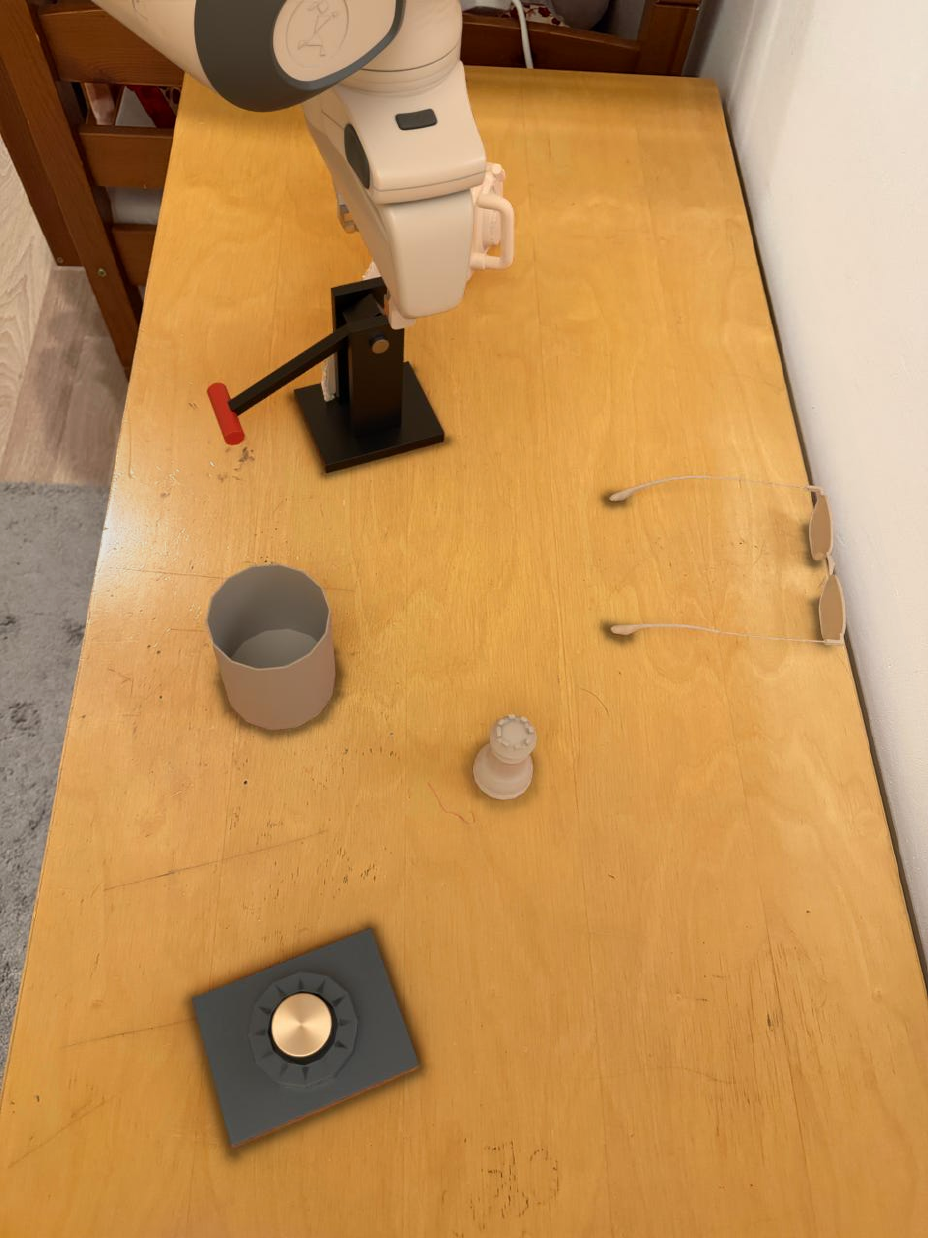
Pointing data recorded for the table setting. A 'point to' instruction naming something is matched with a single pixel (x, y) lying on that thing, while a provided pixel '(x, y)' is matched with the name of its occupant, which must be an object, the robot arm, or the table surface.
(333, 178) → the robot arm
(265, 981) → the button block
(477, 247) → the chainsaw
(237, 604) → the cup
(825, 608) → the eyeglasses
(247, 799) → the table surface
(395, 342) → the press bracket
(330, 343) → the press lever
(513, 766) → the rook chess piece
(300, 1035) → the gold dial knob
